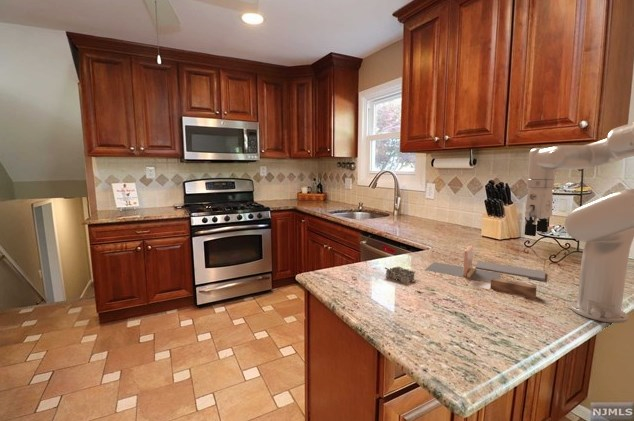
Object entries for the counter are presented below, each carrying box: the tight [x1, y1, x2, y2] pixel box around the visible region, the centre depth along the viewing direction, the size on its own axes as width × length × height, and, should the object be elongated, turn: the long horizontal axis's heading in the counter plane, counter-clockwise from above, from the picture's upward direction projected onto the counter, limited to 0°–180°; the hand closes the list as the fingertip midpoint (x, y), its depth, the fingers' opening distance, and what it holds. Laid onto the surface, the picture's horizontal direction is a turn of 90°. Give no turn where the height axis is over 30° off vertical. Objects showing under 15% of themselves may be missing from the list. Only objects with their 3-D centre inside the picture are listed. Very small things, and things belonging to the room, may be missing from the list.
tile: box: [462, 245, 474, 276], centre depth 123 cm, size 10×1×10 cm, turn 142°
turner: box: [467, 278, 537, 299], centre depth 107 cm, size 20×6×4 cm, turn 53°
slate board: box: [473, 260, 546, 282], centre depth 126 cm, size 10×24×1 cm, turn 52°
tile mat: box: [424, 261, 502, 284], centre depth 125 cm, size 13×26×2 cm, turn 52°
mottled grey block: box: [384, 265, 417, 283], centre depth 120 cm, size 11×8×4 cm
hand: (536, 233), depth 107 cm, fingers open, 9 cm apart
